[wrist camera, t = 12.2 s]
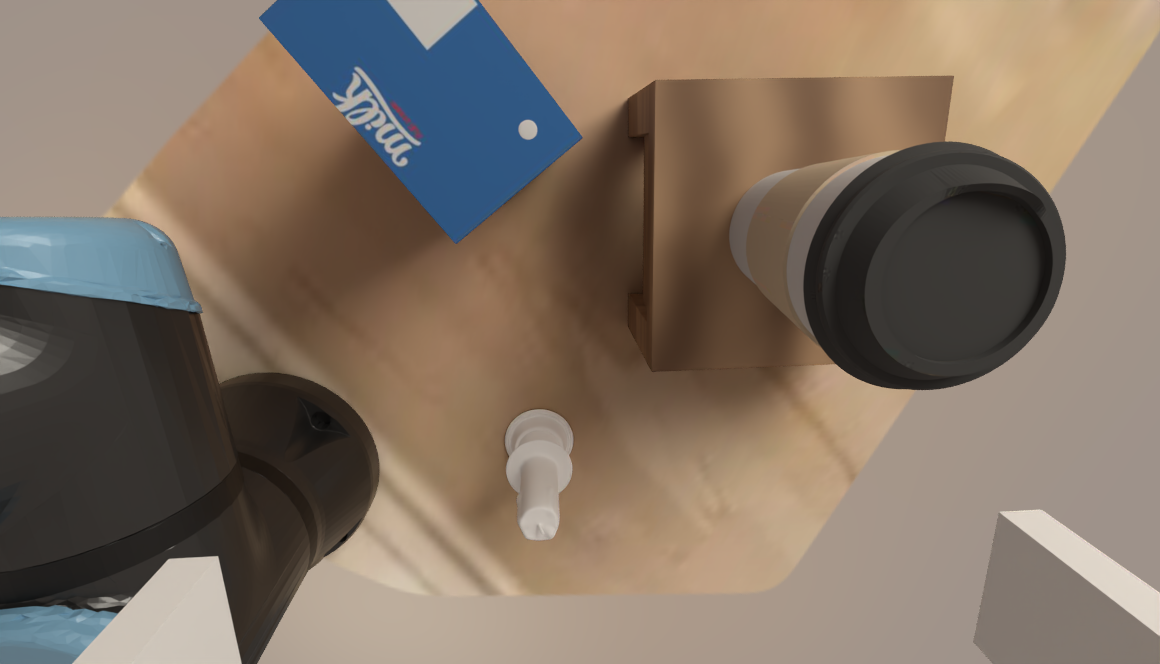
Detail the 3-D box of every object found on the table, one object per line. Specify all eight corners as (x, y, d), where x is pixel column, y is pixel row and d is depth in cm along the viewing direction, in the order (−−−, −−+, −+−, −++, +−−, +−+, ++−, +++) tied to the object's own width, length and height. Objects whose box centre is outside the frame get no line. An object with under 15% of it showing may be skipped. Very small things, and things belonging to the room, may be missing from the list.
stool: (628, 326, 45) (651, 371, 36) (628, 98, 41) (655, 80, 31) (835, 318, 46) (913, 360, 37) (858, 94, 42) (953, 75, 32)
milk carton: (393, 84, 40) (257, 16, 20) (465, 20, 39) (392, -114, 20) (494, 205, 42) (456, 244, 23) (563, 147, 41) (583, 138, 22)
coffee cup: (837, 323, 36) (1039, 436, 21) (691, 293, 34) (799, 389, 20) (891, 168, 33) (1158, 176, 19) (736, 130, 32) (894, 107, 18)
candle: (587, 441, 48) (602, 532, 36) (536, 482, 48) (535, 584, 37) (541, 395, 46) (542, 473, 35) (490, 437, 47) (474, 528, 36)
